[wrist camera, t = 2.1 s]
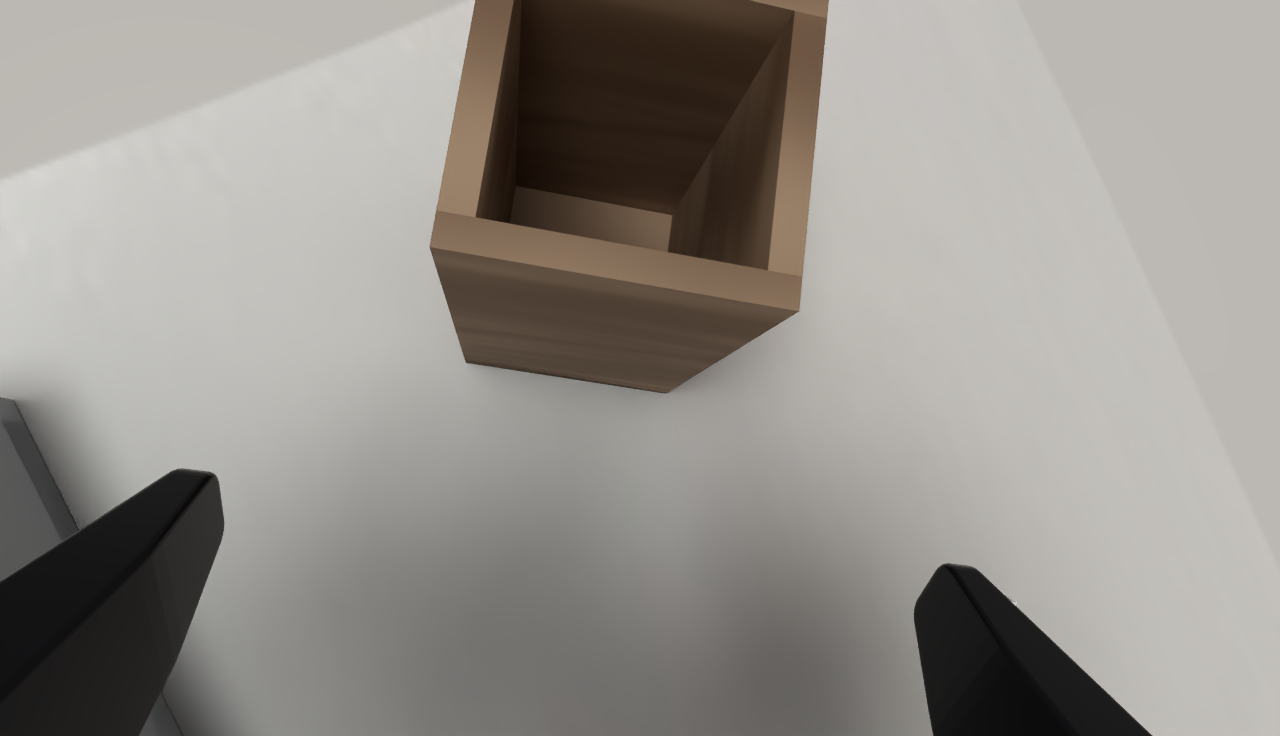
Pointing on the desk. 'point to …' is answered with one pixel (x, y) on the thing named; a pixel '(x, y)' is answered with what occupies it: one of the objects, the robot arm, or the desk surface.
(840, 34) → the desk surface
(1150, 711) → the desk surface
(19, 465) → the tray
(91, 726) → the robot arm
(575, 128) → the walnut crate
